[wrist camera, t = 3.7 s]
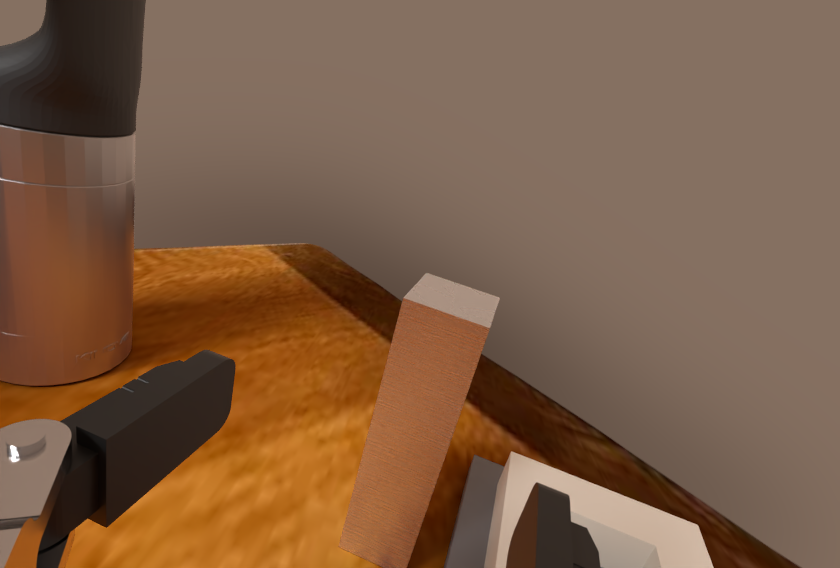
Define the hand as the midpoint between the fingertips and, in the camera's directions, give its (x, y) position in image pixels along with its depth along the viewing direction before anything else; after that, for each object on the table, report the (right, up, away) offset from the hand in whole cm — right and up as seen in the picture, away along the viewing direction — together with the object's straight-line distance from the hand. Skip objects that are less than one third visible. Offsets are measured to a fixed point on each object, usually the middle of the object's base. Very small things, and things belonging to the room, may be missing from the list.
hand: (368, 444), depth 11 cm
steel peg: (-1, -11, +16) cm, 20 cm away
